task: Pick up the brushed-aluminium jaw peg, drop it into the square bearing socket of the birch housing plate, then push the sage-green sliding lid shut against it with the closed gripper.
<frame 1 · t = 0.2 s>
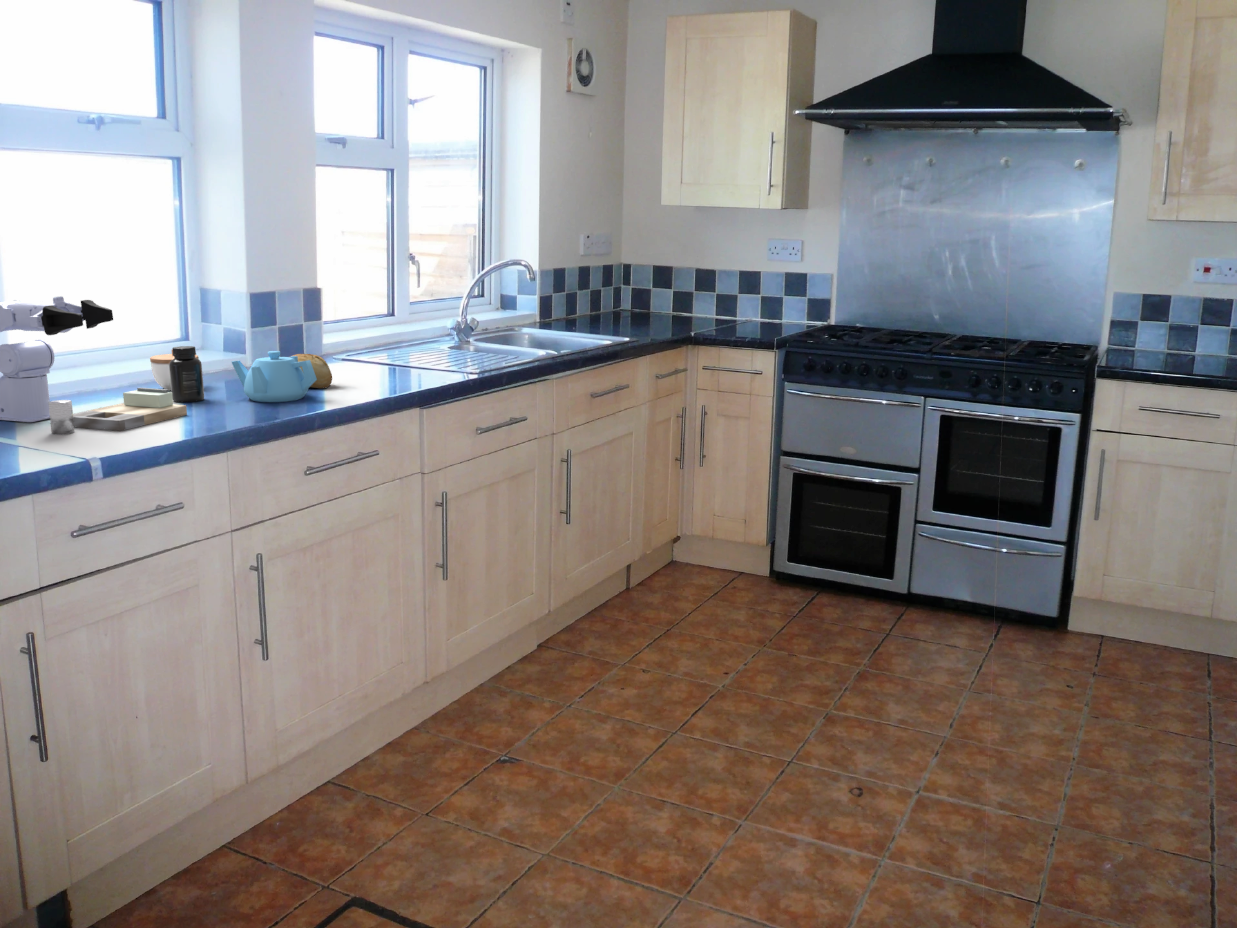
hand: (96, 317, 217), 21 cm above the worktop, tool horizontal, fingers open, 7 cm apart
teapot: (276, 399, 255), on the worktop
lidded jar: (177, 389, 268), on the worktop
jaw peg: (63, 432, 214), on the worktop
bread roll: (304, 387, 272), on the worktop
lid: (148, 397, 232), point 4 cm above the worktop, slide at 5.0 cm
housing: (121, 421, 225), on the worktop
supplement bottle: (188, 401, 251), on the worktop
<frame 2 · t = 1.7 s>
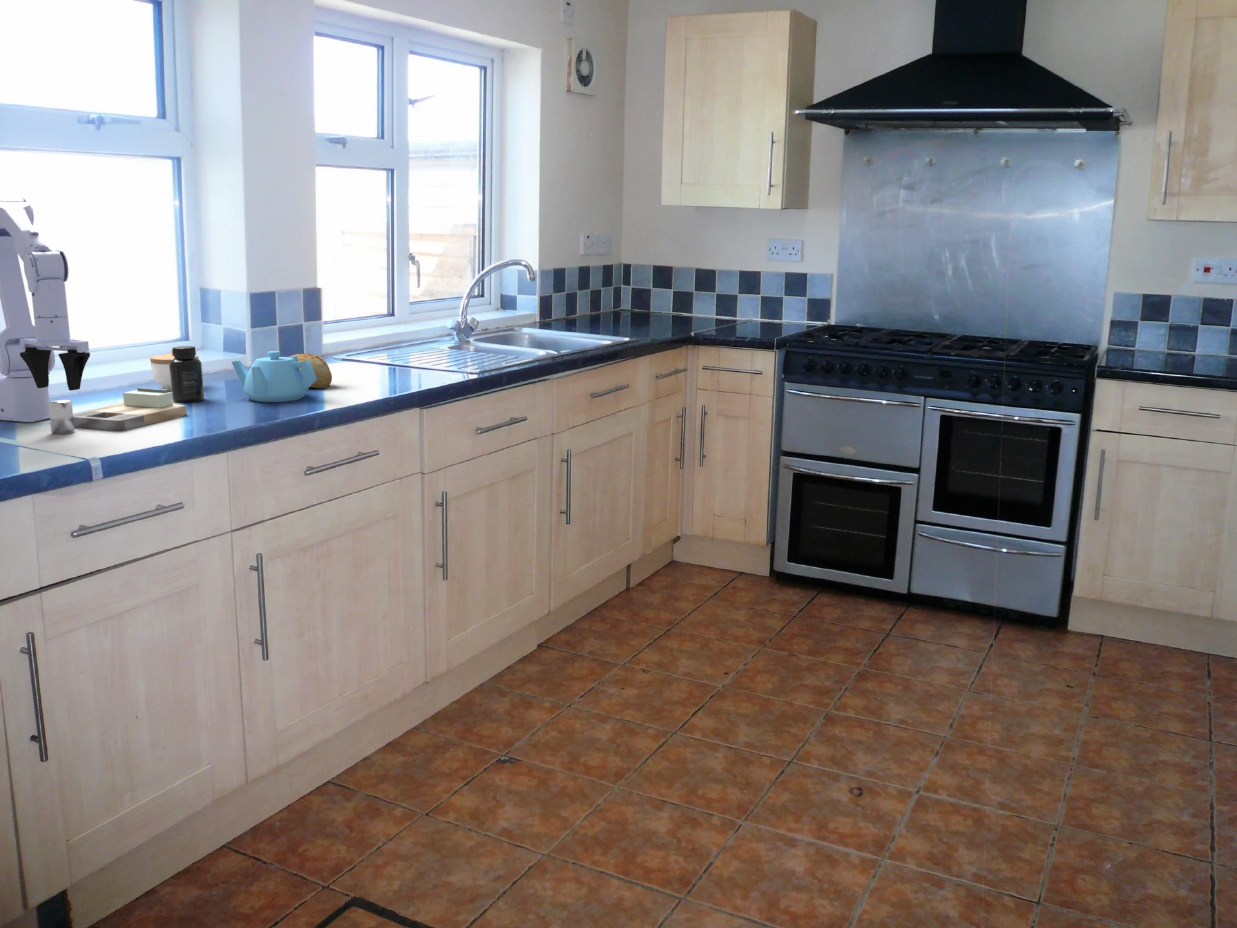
hand: (58, 388, 212), 8 cm above the worktop, tool pointing down, fingers open, 7 cm apart
nothing on the worktop moved.
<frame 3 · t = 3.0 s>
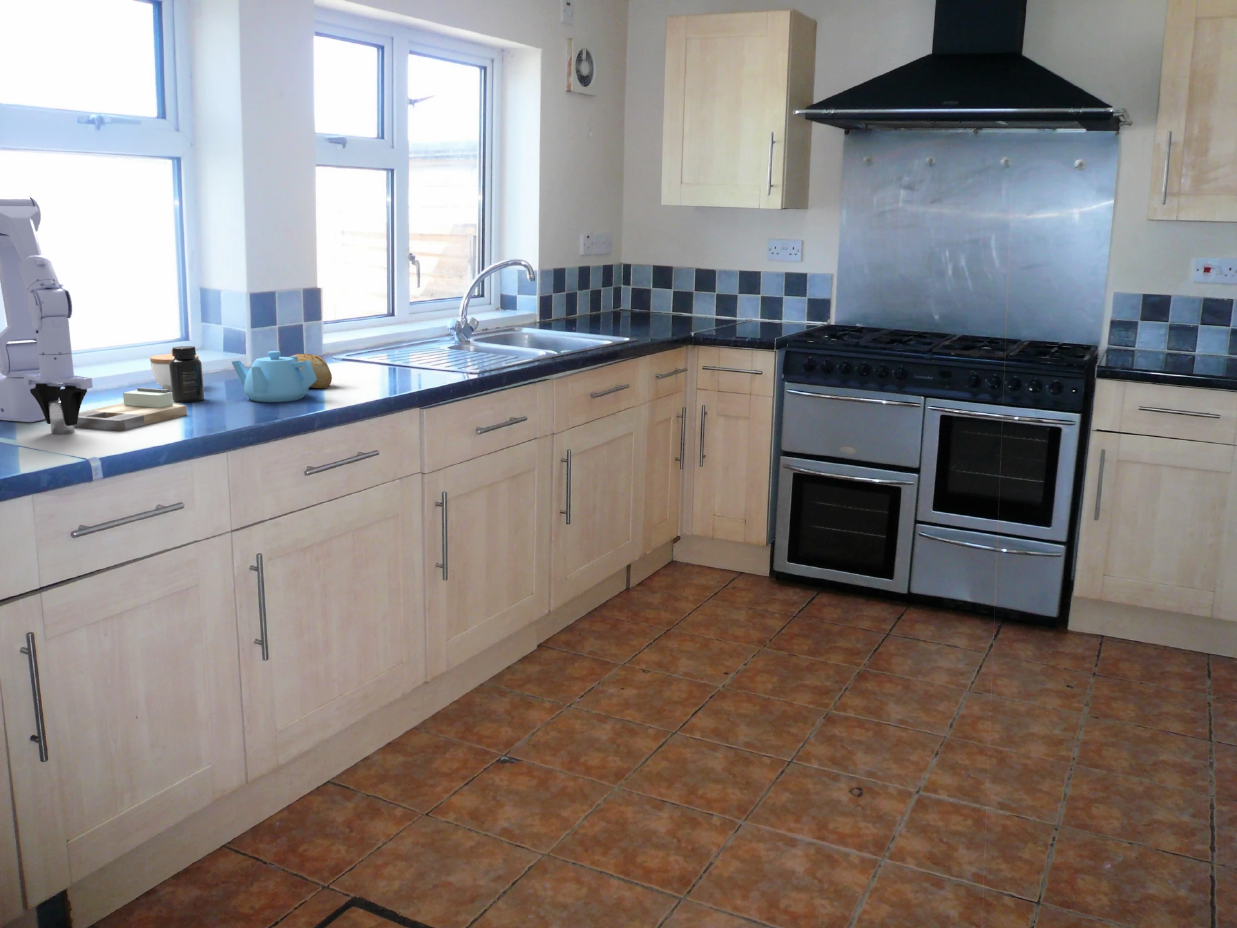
hand: (62, 424, 214), 2 cm above the worktop, tool pointing down, fingers closed on jaw peg, 4 cm apart
jaw peg: (63, 432, 214), on the worktop, touching gripper
everything else where it was.
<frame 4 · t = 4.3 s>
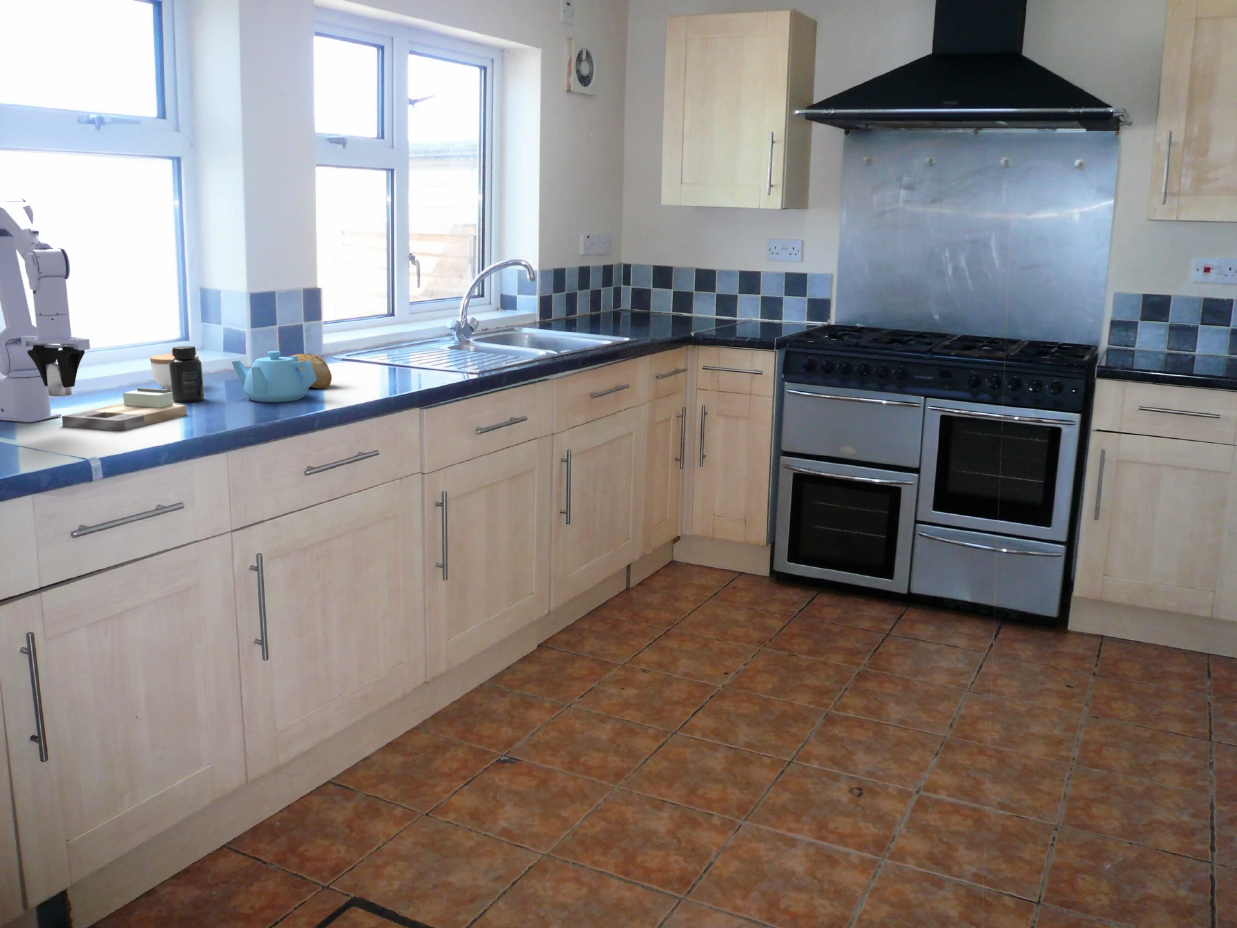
hand: (59, 386, 212), 9 cm above the worktop, tool pointing down, fingers closed on jaw peg, 4 cm apart
jaw peg: (60, 394, 213), point 7 cm above the worktop, touching gripper
everything else where it was.
when the fingers open (5 cm above the worktop, at t = 5.9 s): jaw peg drops 4 cm, resting in housing.
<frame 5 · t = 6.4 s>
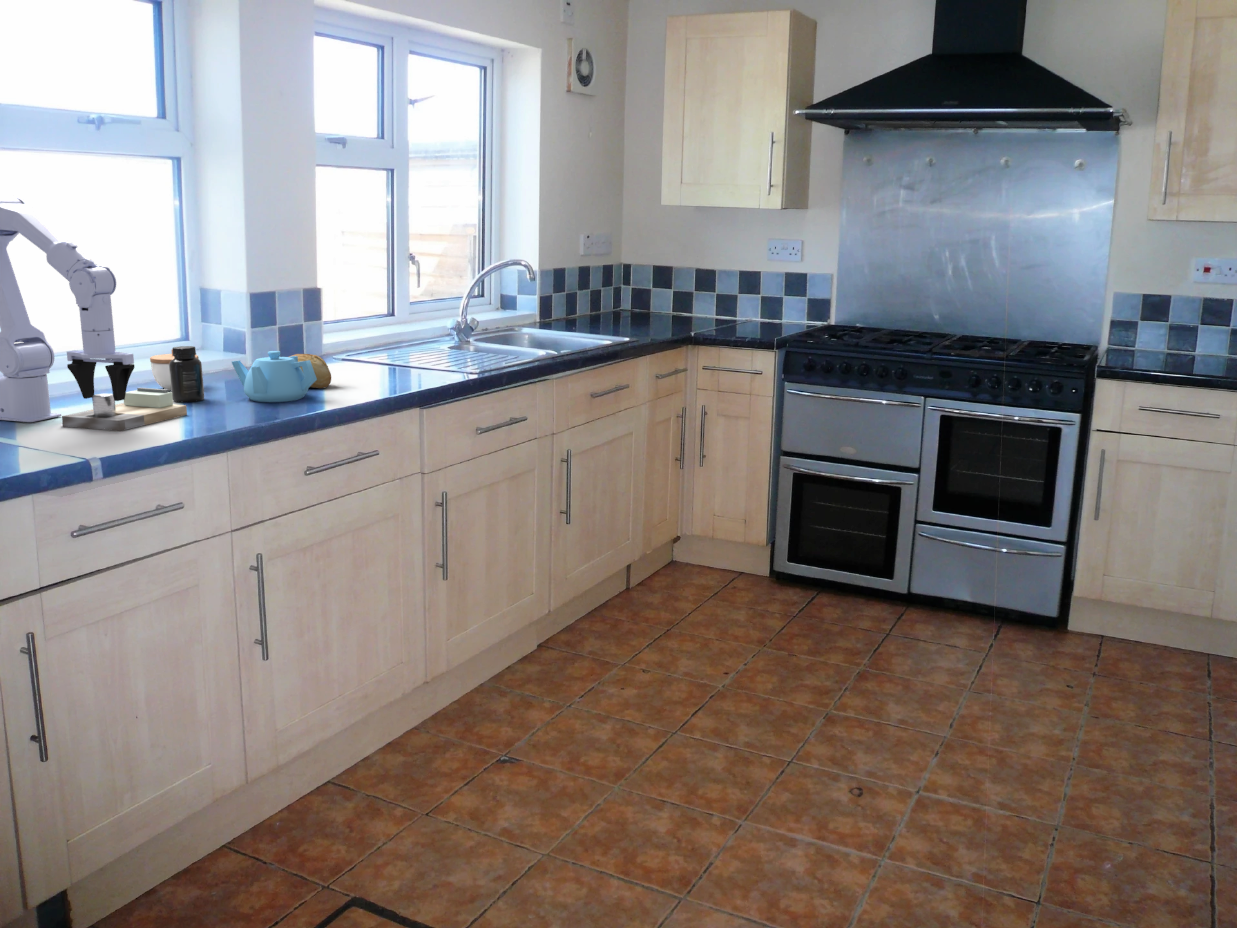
hand: (104, 399, 221), 5 cm above the worktop, tool pointing down, fingers open, 7 cm apart
jaw peg: (106, 425, 222), resting in housing
everything else where it was.
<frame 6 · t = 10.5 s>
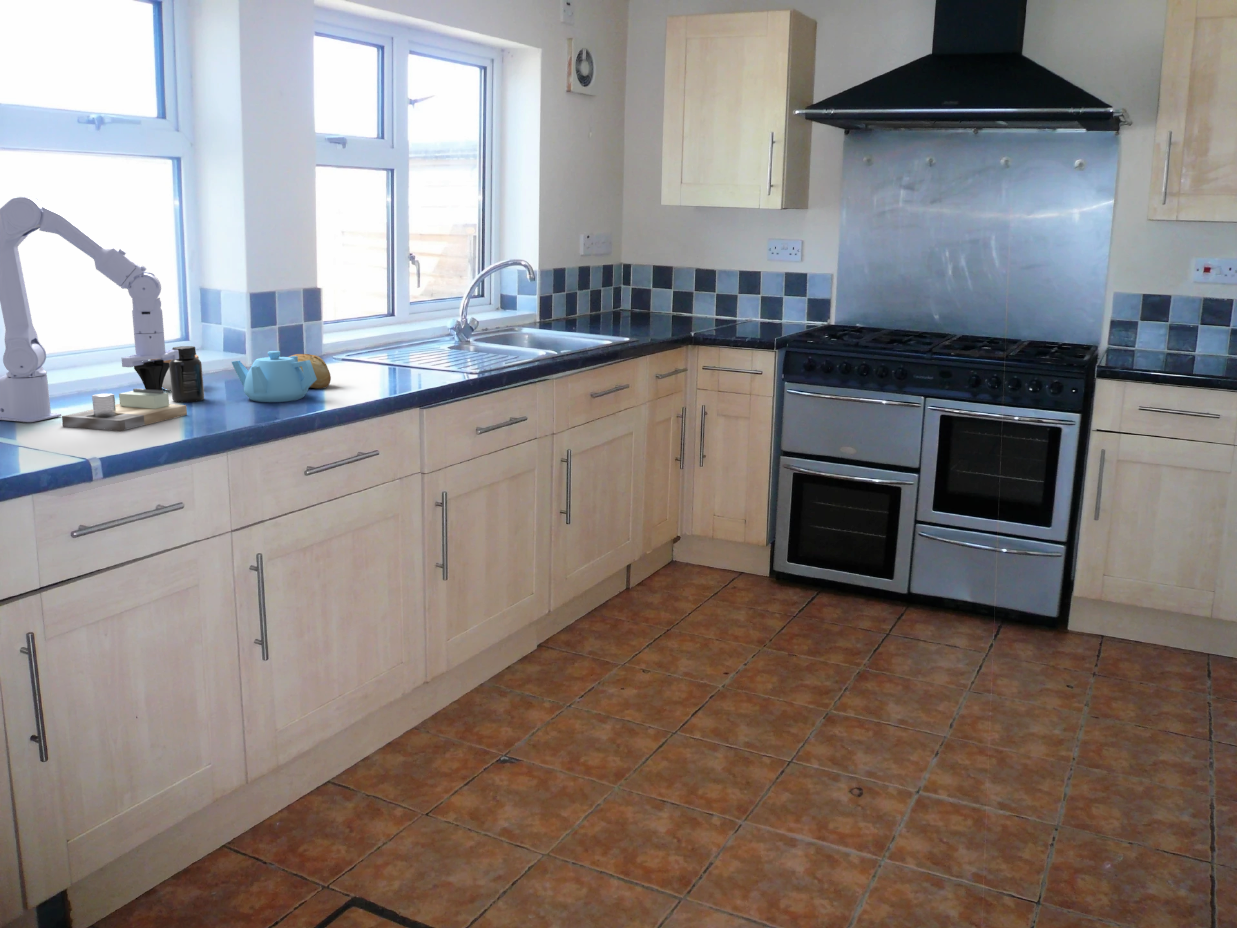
hand: (154, 397, 234), 3 cm above the worktop, tool pointing down, fingers closed
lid: (144, 398, 231), point 4 cm above the worktop, slide at 3.8 cm, touching gripper
everything else where it was.
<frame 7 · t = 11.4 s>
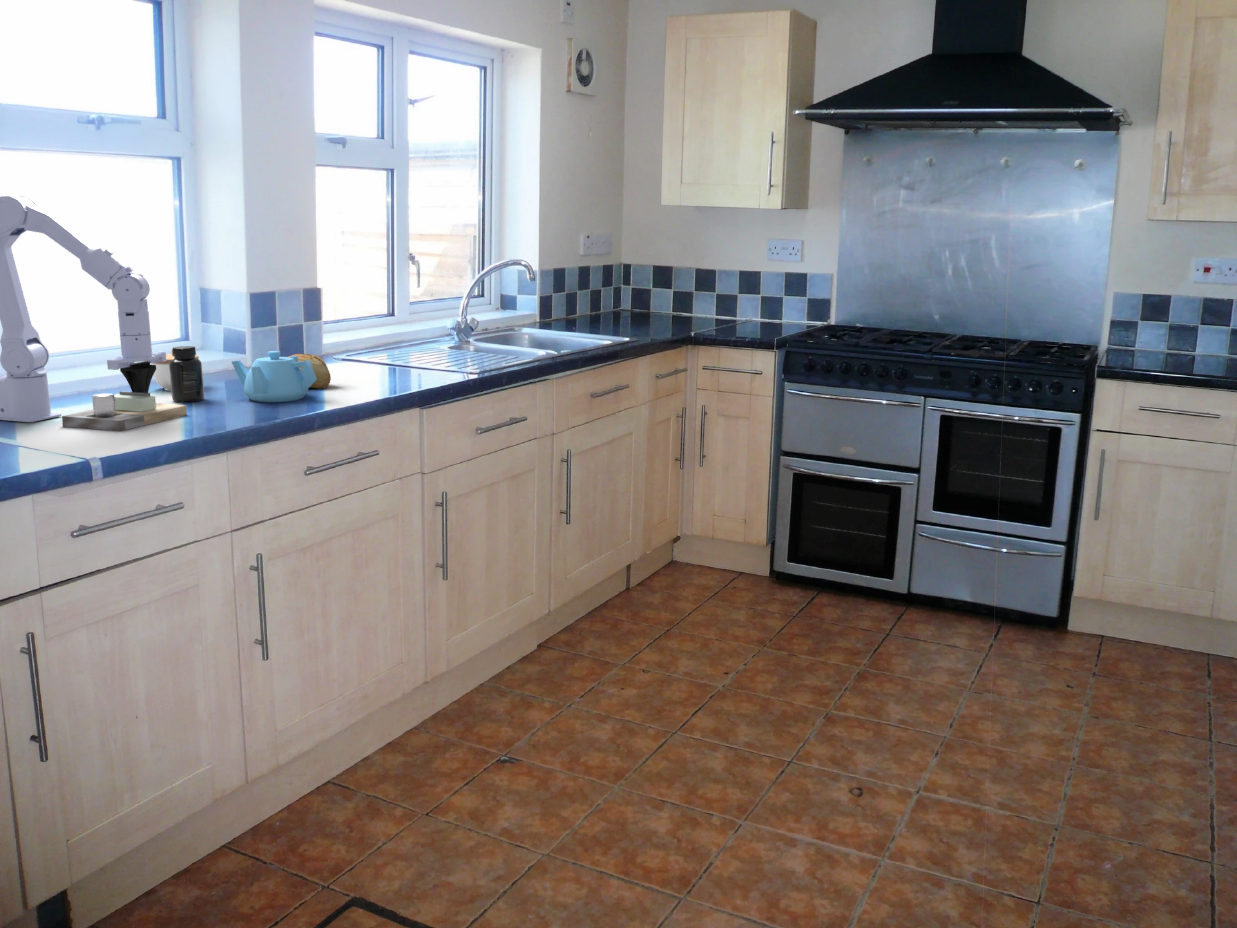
hand: (141, 400, 230), 3 cm above the worktop, tool pointing down, fingers closed
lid: (130, 401, 227), point 4 cm above the worktop, slide at 0.0 cm, touching gripper
everything else where it was.
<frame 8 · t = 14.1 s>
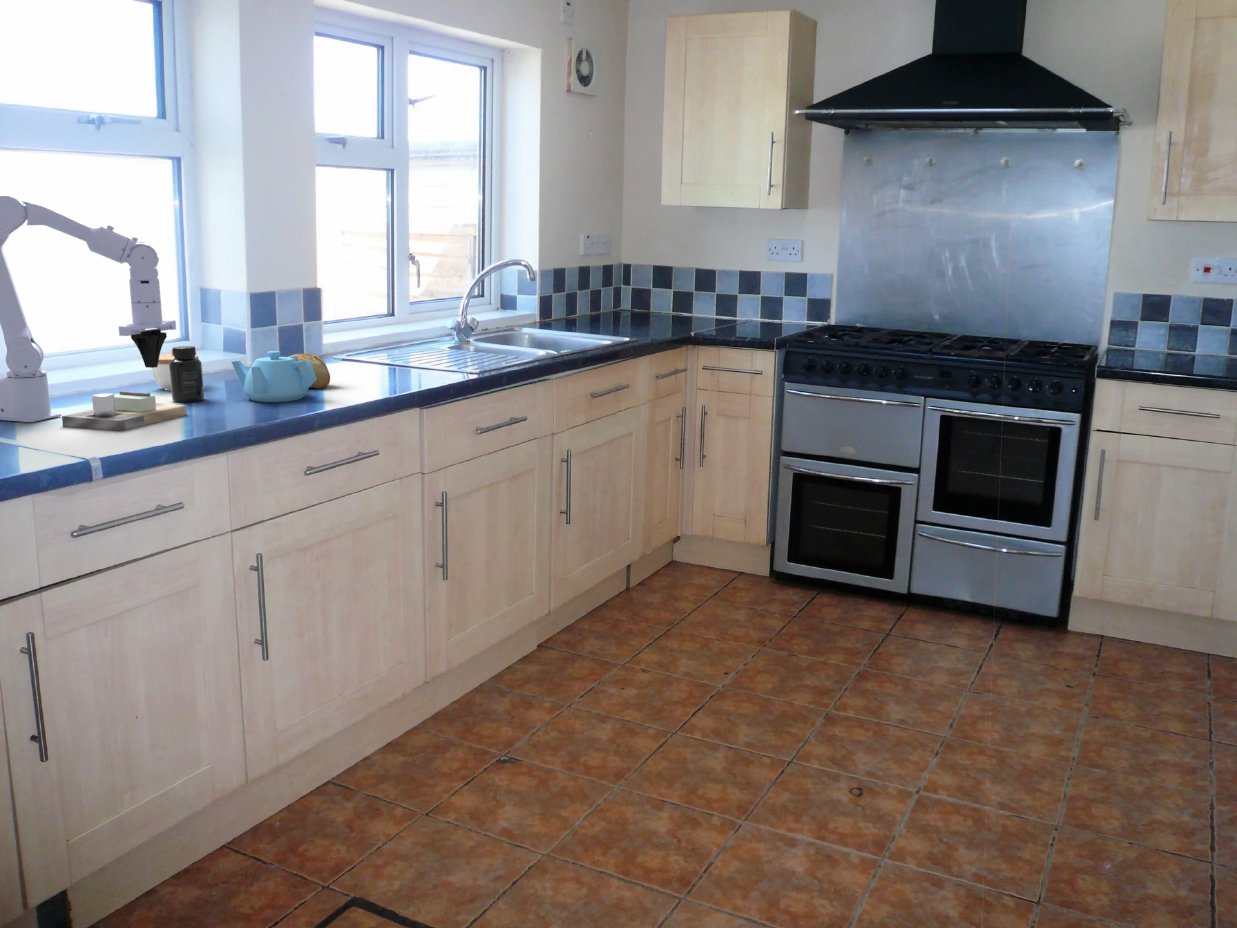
hand: (151, 367, 235), 9 cm above the worktop, tool pointing down, fingers closed
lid: (130, 401, 227), point 4 cm above the worktop, slide at 0.0 cm
everything else where it was.
at the end: jaw peg 0.1 cm from the target spot on the housing, point 0.0 cm above the housing's base; jaw peg tilted 0°; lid slide at 0.0 cm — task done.
